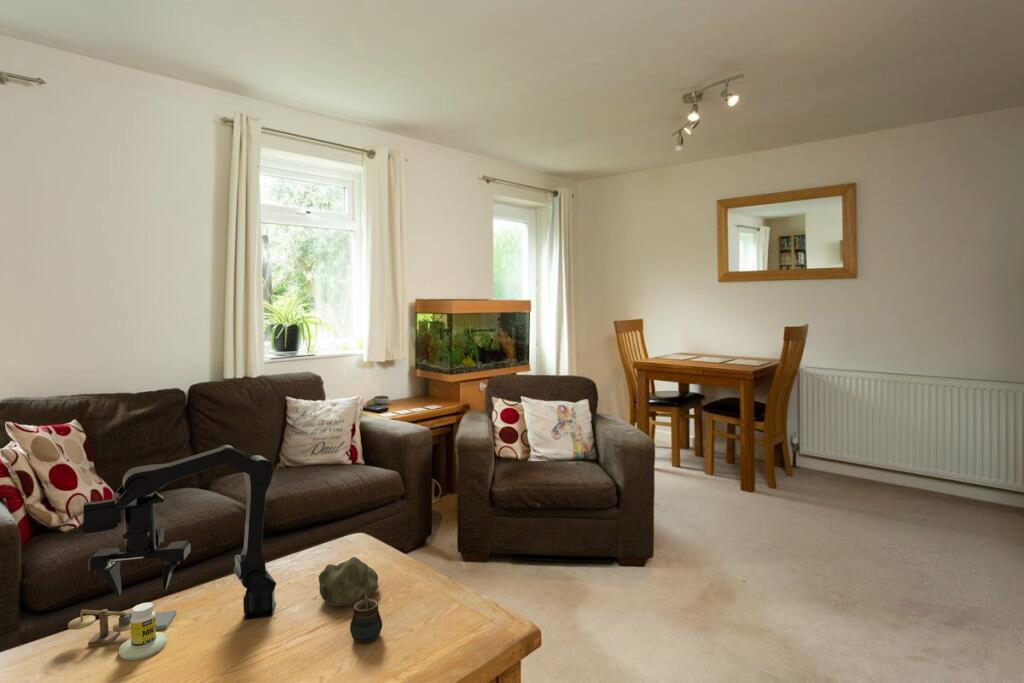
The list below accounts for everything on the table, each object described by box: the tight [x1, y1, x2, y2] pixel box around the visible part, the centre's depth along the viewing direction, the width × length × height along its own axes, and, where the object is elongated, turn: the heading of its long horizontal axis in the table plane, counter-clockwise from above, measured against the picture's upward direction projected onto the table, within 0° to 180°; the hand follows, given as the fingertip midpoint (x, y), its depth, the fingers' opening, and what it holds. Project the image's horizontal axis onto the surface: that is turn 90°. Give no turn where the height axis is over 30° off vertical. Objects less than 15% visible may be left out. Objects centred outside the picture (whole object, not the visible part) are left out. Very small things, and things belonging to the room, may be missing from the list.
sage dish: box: [118, 631, 168, 661], centre depth 127 cm, size 9×9×1 cm
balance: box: [67, 608, 132, 648], centre depth 130 cm, size 14×5×8 cm, turn 105°
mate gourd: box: [349, 589, 383, 644], centre depth 131 cm, size 7×8×10 cm
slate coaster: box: [155, 609, 177, 631], centre depth 137 cm, size 7×7×1 cm
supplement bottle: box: [130, 602, 157, 648], centre depth 127 cm, size 5×5×8 cm
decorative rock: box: [318, 556, 379, 607], centre depth 150 cm, size 15×16×10 cm
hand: (142, 592), depth 127 cm, fingers open, 9 cm apart
